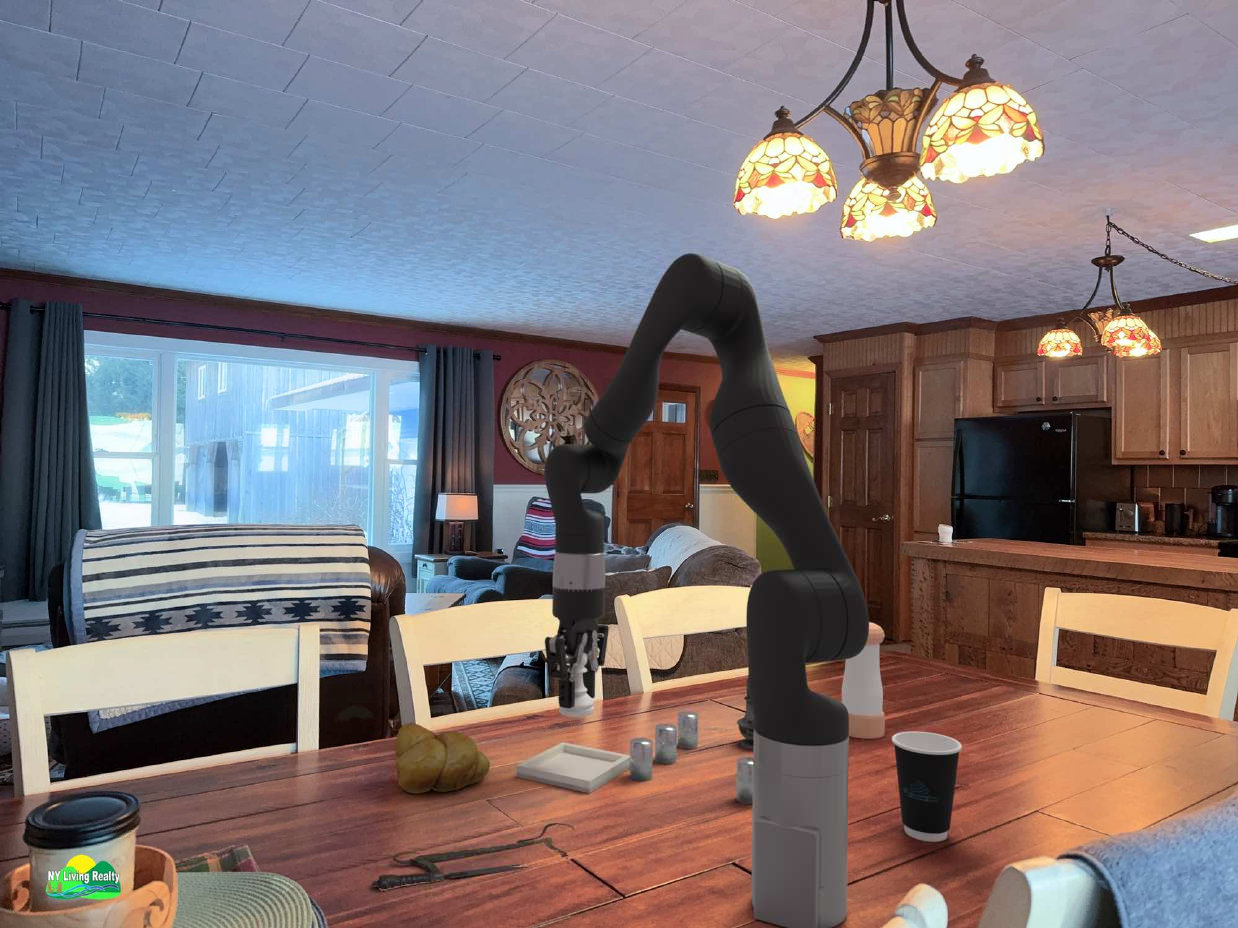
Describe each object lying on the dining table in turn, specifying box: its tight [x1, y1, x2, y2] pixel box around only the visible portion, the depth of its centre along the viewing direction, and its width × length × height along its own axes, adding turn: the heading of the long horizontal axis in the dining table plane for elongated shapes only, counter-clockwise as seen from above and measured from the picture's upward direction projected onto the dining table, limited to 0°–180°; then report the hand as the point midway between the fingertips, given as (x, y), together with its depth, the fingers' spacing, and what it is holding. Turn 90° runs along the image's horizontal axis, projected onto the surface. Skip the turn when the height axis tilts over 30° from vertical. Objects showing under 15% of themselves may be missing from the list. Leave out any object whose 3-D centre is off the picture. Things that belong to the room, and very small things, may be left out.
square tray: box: [515, 742, 630, 794], centre depth 120 cm, size 12×12×2 cm
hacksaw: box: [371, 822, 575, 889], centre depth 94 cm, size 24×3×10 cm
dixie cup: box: [891, 731, 963, 843], centre depth 101 cm, size 8×8×11 cm
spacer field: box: [629, 710, 753, 805], centre depth 122 cm, size 19×19×5 cm
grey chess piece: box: [736, 678, 754, 751], centre depth 134 cm, size 6×6×12 cm
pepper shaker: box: [841, 621, 886, 740], centre depth 141 cm, size 7×7×19 cm
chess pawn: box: [558, 653, 595, 718], centre depth 120 cm, size 5×5×9 cm
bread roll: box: [394, 721, 491, 795], centre depth 114 cm, size 13×10×8 cm
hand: (577, 702), depth 120 cm, fingers closed on chess pawn, 5 cm apart
